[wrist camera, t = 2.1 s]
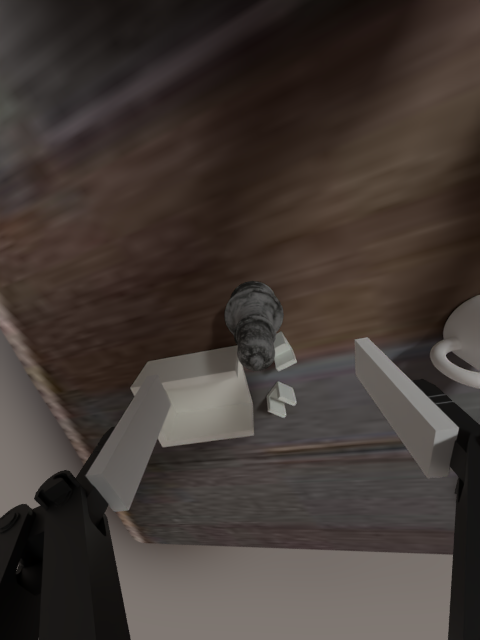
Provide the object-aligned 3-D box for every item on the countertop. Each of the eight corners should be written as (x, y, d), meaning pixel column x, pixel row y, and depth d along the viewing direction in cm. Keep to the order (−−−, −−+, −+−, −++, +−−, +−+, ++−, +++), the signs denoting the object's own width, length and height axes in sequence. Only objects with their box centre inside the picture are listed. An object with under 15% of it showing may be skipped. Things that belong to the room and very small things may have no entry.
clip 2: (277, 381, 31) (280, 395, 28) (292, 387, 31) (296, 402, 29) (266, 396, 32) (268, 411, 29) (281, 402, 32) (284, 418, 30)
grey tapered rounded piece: (261, 268, 24) (273, 312, 13) (288, 311, 26) (317, 380, 15) (217, 296, 26) (194, 357, 15) (245, 335, 28) (243, 413, 17)
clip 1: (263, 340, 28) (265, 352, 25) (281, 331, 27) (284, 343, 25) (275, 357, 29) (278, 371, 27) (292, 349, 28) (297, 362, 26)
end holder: (147, 361, 30) (129, 388, 25) (237, 345, 28) (235, 370, 24) (173, 415, 34) (162, 447, 29) (253, 404, 32) (254, 435, 28)
